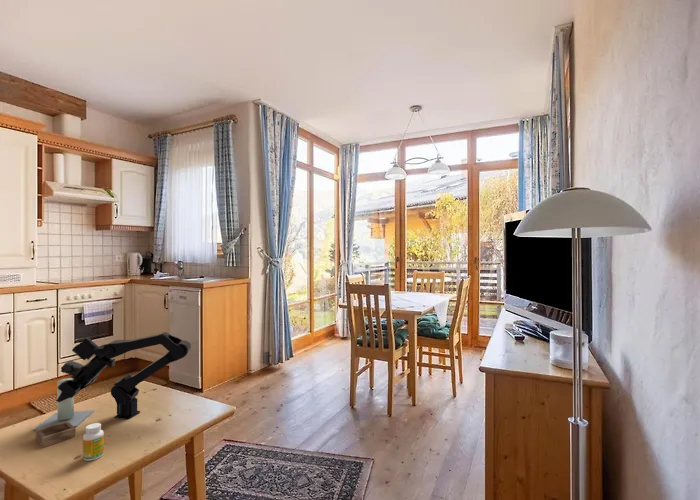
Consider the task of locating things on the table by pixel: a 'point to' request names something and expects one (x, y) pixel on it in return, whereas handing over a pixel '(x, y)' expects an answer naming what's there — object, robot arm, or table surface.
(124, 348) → the robot arm
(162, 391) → the table surface
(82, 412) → the mat
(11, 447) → the table surface
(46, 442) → the brown square open box
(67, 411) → the green bottle
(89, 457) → the supplement bottle
